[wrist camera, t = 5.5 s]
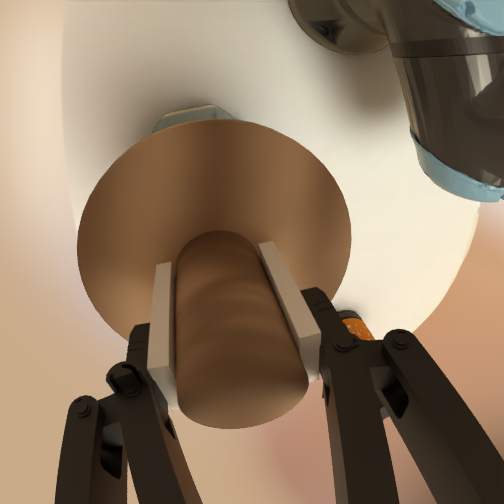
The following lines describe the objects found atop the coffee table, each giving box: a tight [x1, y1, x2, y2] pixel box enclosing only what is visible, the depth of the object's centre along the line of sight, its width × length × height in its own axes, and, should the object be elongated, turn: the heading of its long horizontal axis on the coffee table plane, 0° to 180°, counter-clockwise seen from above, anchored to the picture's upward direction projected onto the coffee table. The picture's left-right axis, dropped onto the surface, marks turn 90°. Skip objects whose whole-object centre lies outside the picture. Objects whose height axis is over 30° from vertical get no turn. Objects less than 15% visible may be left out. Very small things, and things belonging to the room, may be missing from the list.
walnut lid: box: [77, 119, 351, 429], centre depth 13 cm, size 15×15×9 cm
